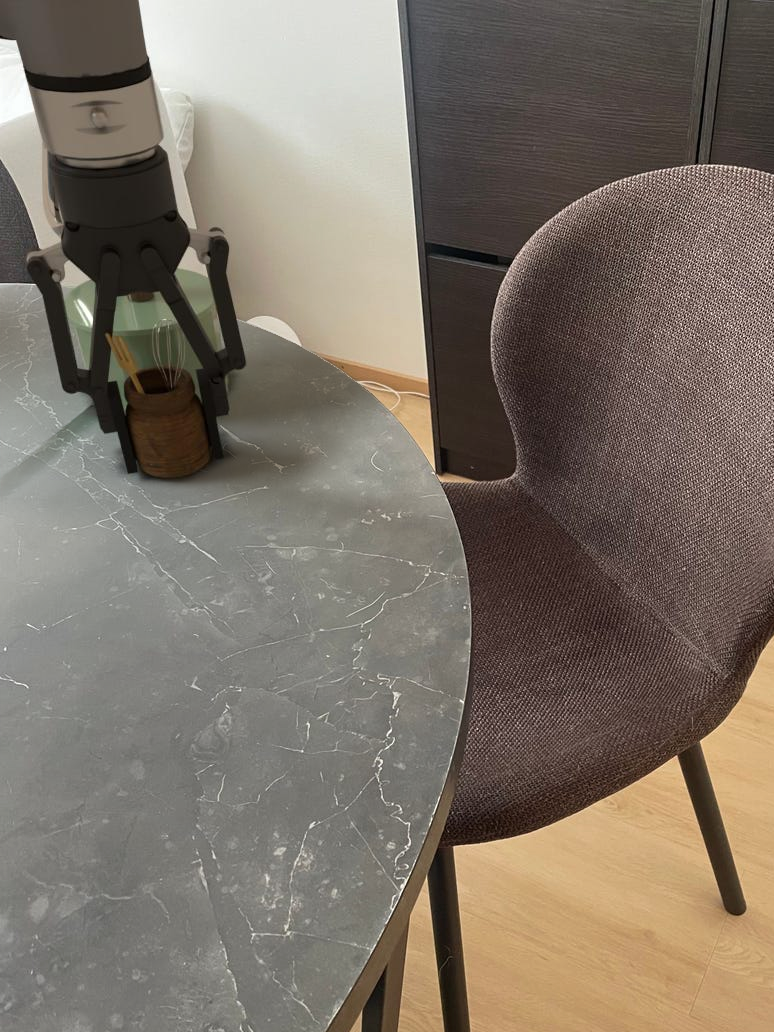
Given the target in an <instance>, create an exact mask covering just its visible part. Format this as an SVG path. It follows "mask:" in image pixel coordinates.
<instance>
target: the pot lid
mask: <svg viewBox="0 0 774 1032" xmlns="http://www.w3.org/2000/svg"><path fill="white" fill-rule="evenodd" d="M174 274H175V275H176V277H177V279H178V282H179V284H180V286H181V288H182V290H183V292H184V293H185V295H186V297H187V299H188V301H189V303H190V305H191V306H192V308H193V310H194V312H195V314H196V316H197V318H198V319H201V318H203V317H204V316H206V315H207V314H209V313H210V312H211V311H212V310H213V309H214V308H215V303H214V298H213V294H212V290H211V286H210V282H209V278H208V276H206V275H204V274H202V273H199V272H196V271H193V270H189V269H184V268H179V267H177V269H176V271H175V273H174ZM94 300H95V283H94V282H93V281H92V280H91V279H89V280H87V281H84V282H82V283H81V284H79V285H77V286H75V287H74V288H73V289H71V290H70V292H68V293H67V295H66V296H65V297H64V302H65V307H66V312H67V317H68V322H69V324H71V325H72V326H73V325H74V326H76V327H77V328H80V329H82V330H85V331H88V332H91V333H92V324H93V312H94ZM166 319H167V320H173V321H175V322H176V324H175V323H174V322H173V321H171V322H170V321H168V323H167V330H166V321H165V322H164V321H161V320H166ZM159 321H161V322H159ZM158 322H159V324H158V326H157V325H156V324H157V323H158ZM163 322H164V323H163ZM172 322H173V323H174V324H175V325H174V324H173V323H172ZM162 323H163V324H162ZM177 323H178V322H177V320H176V318H175V317H174V315H173V313H172V311H171V310H170V308H169V306H168V305H167V304H166V302H165V300H164V299H163V297H162V295H161V293H160V292H152V293H148V292H140V291H138V292H135V293H132V294H130V295H127V296H120V297H117V301H116V310H115V314H114V325H113V335H115V336H141V335H150V334H152V332H153V334H156V327H157V333H158V331H159V333H162V332H166V331H168V326H169V331H171V330H174V329H177V328H180V326H179V325H178V324H177ZM161 324H162V325H161ZM155 325H156V326H155ZM176 325H177V328H176V327H175V326H176ZM74 326H73V327H74ZM160 326H161V327H160ZM154 327H155V328H154ZM159 328H160V330H159ZM153 329H154V331H153Z"/></svg>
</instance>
